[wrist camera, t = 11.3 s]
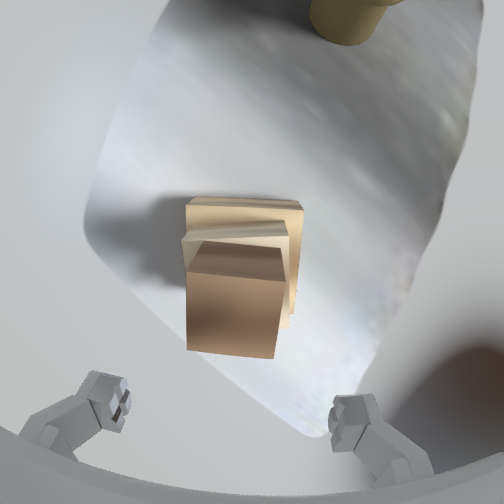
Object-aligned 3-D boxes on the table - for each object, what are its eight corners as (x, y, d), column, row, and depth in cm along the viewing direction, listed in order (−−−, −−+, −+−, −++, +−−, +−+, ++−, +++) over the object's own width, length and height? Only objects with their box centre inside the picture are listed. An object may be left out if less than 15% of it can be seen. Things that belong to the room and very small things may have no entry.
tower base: (196, 196, 27) (185, 205, 24) (298, 200, 27) (303, 210, 23) (197, 287, 30) (189, 308, 27) (289, 292, 30) (293, 313, 26)
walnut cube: (203, 240, 20) (186, 271, 16) (280, 248, 20) (285, 281, 16) (201, 307, 22) (187, 349, 17) (271, 314, 22) (273, 359, 17)
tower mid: (193, 224, 24) (180, 240, 20) (284, 220, 24) (288, 235, 20) (203, 304, 26) (194, 330, 23) (285, 301, 26) (289, 328, 22)
